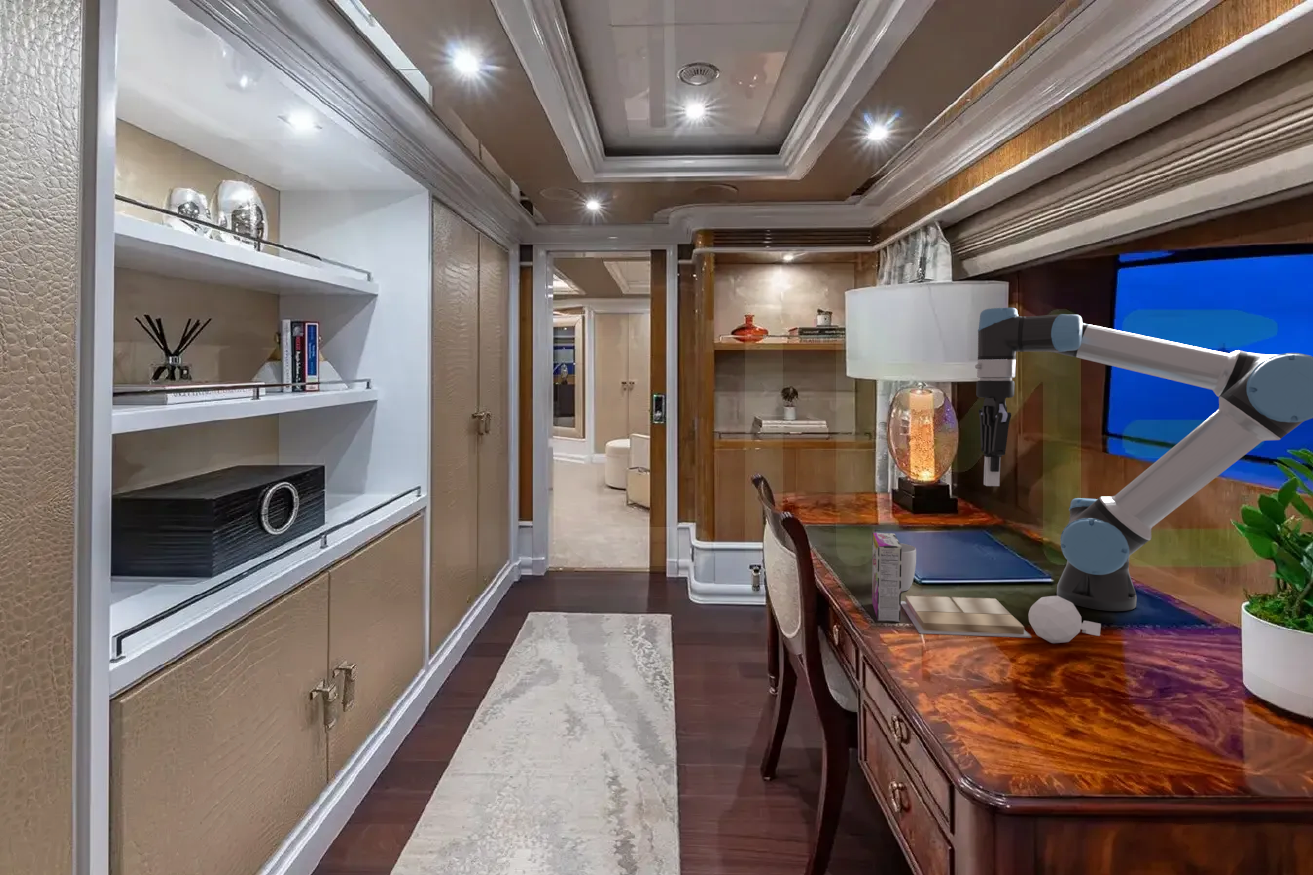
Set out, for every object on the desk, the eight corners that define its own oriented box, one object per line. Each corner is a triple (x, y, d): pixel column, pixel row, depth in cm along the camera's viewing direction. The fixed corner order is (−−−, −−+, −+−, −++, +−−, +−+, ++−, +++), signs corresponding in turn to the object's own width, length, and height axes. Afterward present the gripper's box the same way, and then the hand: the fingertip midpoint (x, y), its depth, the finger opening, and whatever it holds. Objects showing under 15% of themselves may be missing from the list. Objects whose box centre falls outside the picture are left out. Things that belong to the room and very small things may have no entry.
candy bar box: (870, 603, 154) (872, 532, 152) (893, 604, 153) (895, 532, 151) (875, 621, 143) (877, 544, 141) (901, 623, 142) (903, 546, 140)
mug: (909, 596, 158) (910, 554, 157) (870, 589, 163) (871, 548, 162) (923, 581, 169) (924, 542, 167) (886, 575, 174) (887, 537, 173)
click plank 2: (994, 604, 150) (995, 598, 150) (1010, 620, 142) (1010, 614, 141) (951, 603, 152) (951, 596, 151) (963, 619, 143) (964, 612, 143)
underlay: (997, 605, 151) (997, 604, 151) (1031, 637, 134) (1031, 636, 134) (899, 602, 154) (899, 601, 154) (919, 633, 136) (919, 631, 136)
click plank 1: (948, 602, 152) (948, 596, 151) (960, 619, 143) (961, 612, 143) (905, 601, 153) (905, 595, 153) (915, 617, 144) (915, 610, 144)
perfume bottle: (1031, 639, 128) (1103, 654, 125) (1036, 590, 130) (1108, 604, 126) (1020, 636, 136) (1088, 650, 133) (1025, 590, 138) (1093, 603, 134)
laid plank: (1010, 621, 141) (1011, 614, 141) (1023, 633, 135) (1024, 626, 135) (915, 617, 144) (915, 611, 144) (923, 630, 137) (923, 622, 137)
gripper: (967, 379, 157) (964, 480, 160) (988, 380, 144) (984, 490, 147) (1002, 378, 156) (997, 480, 159) (1026, 380, 143) (1021, 490, 146)
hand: (991, 485), depth 153 cm, fingers closed
